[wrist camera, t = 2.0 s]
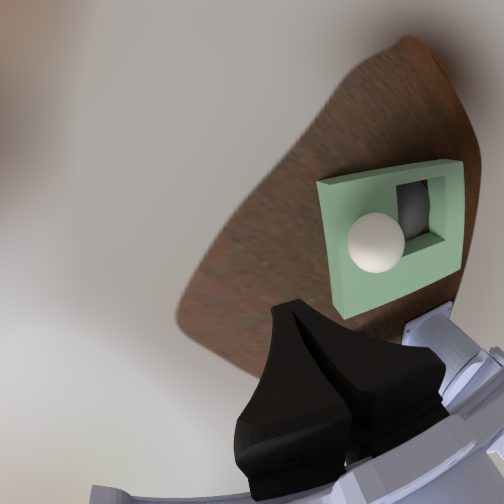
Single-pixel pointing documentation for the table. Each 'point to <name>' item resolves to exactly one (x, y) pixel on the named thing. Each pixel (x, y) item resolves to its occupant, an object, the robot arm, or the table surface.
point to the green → (409, 219)
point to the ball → (375, 242)
